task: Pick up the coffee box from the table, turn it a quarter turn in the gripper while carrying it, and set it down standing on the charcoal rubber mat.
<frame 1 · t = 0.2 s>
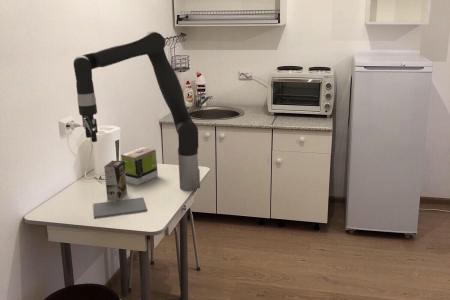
hand: (91, 139, 213), 28 cm above the table, tool pointing down, fingers open, 8 cm apart
mat: (119, 208, 212), on the table
tea box: (140, 179, 245), on the table
coffee box: (117, 196, 225), on the table
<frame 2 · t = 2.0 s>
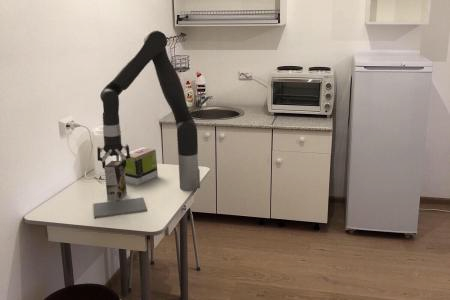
hand: (114, 168, 220), 14 cm above the table, tool pointing down, fingers closed on coffee box, 8 cm apart
coffee box: (117, 196, 225), on the table, touching gripper
everything else where it was.
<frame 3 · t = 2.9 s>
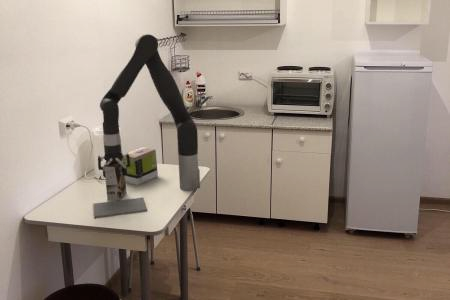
hand: (115, 176, 222), 10 cm above the table, tool pointing down, fingers closed on coffee box, 8 cm apart
coffee box: (117, 196, 225), on the table, touching gripper
everything else where it was.
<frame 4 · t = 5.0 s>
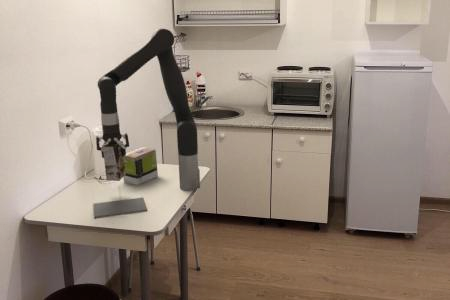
hand: (114, 157, 219), 19 cm above the table, tool pointing down, fingers closed on coffee box, 8 cm apart
coffee box: (116, 177, 222), point 9 cm above the table, touching gripper
everything else where it was.
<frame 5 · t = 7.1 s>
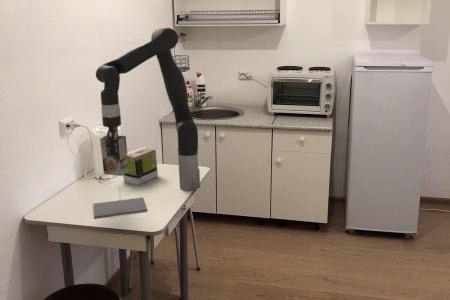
hand: (114, 151, 206), 25 cm above the table, tool pointing down, fingers closed on coffee box, 8 cm apart
coffee box: (116, 173, 209), point 15 cm above the table, touching gripper
everything else where it was.
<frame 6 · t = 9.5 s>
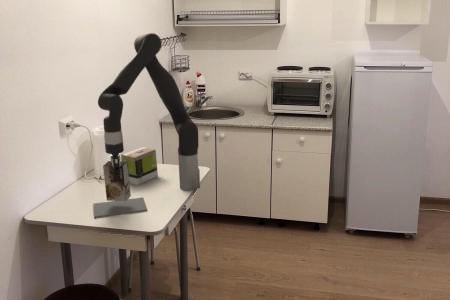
hand: (117, 177, 208), 14 cm above the table, tool pointing down, fingers closed on coffee box, 8 cm apart
coffee box: (118, 198, 211), point 4 cm above the table, touching gripper
everything else where it was.
when the fingers open (12 cm above the table, at t = 11.3 s): coffee box stays where it is, resting on mat.
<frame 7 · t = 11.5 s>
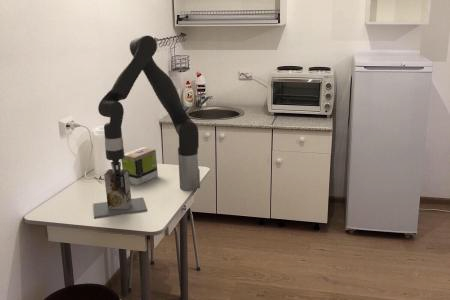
hand: (117, 183, 208), 12 cm above the table, tool pointing down, fingers open, 8 cm apart
coffee box: (119, 206, 212), point 1 cm above the table, touching gripper, mat
everything else where it was.
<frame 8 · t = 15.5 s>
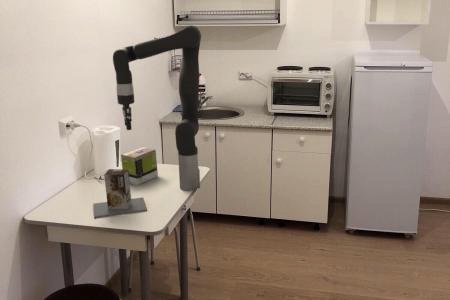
hand: (128, 127, 225), 30 cm above the table, tool pointing down, fingers open, 8 cm apart
coffee box: (119, 206, 212), point 1 cm above the table, touching mat
everything else where it was.
at the end: coffee box inside the target area on the mat (0.2 cm from its centre), point 0.6 cm above the mat's base; coffee box tilted 0°; the gripper is holding nothing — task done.
